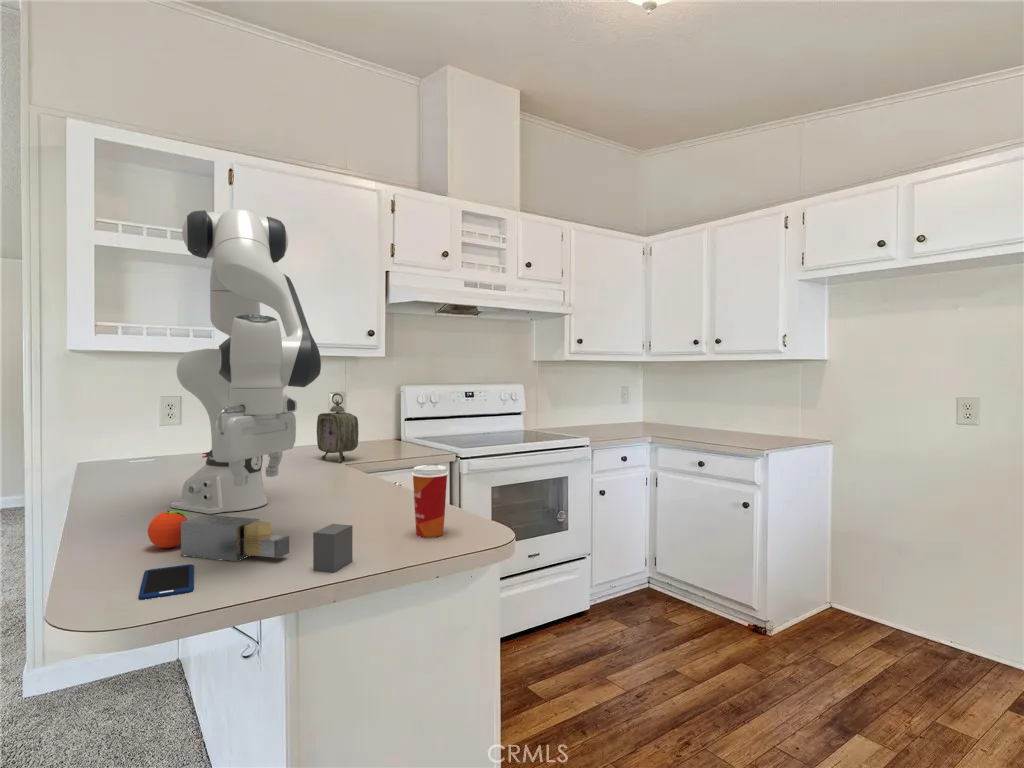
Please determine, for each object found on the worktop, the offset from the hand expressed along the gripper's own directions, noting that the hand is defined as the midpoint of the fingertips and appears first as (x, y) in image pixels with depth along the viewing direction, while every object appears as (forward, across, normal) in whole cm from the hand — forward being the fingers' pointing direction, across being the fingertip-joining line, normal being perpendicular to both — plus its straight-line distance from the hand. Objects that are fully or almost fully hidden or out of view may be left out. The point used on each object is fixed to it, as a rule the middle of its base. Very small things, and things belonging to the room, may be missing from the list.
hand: (257, 480), depth 107 cm
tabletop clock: (+13, +107, +36) cm, 114 cm away
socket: (+14, -1, -15) cm, 21 cm away
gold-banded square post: (+14, +1, +4) cm, 15 cm away
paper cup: (+14, +21, -26) cm, 36 cm away
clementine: (+14, +3, +20) cm, 25 cm away
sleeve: (+14, +1, +8) cm, 16 cm away
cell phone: (+15, -13, +8) cm, 21 cm away
